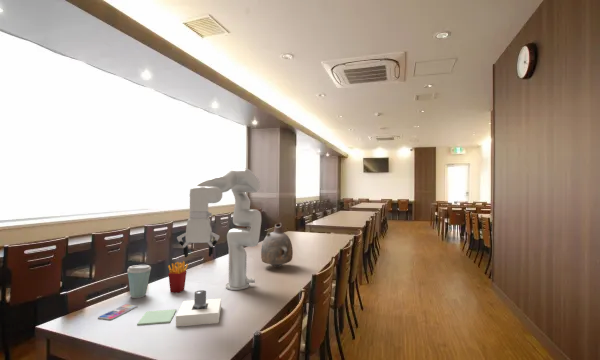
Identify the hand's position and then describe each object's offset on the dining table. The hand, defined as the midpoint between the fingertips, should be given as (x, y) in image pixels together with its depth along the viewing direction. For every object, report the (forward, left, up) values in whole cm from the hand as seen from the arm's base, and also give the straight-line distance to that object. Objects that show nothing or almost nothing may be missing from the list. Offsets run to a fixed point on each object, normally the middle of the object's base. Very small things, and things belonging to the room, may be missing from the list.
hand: (198, 256), depth 127 cm
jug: (-42, -71, -25) cm, 86 cm away
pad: (+16, -1, -25) cm, 29 cm away
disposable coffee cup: (+32, -30, -25) cm, 50 cm away
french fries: (+15, -35, -25) cm, 45 cm away
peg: (-1, +1, -25) cm, 25 cm away
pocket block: (-1, +1, -25) cm, 25 cm away
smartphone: (+34, -10, -25) cm, 43 cm away
